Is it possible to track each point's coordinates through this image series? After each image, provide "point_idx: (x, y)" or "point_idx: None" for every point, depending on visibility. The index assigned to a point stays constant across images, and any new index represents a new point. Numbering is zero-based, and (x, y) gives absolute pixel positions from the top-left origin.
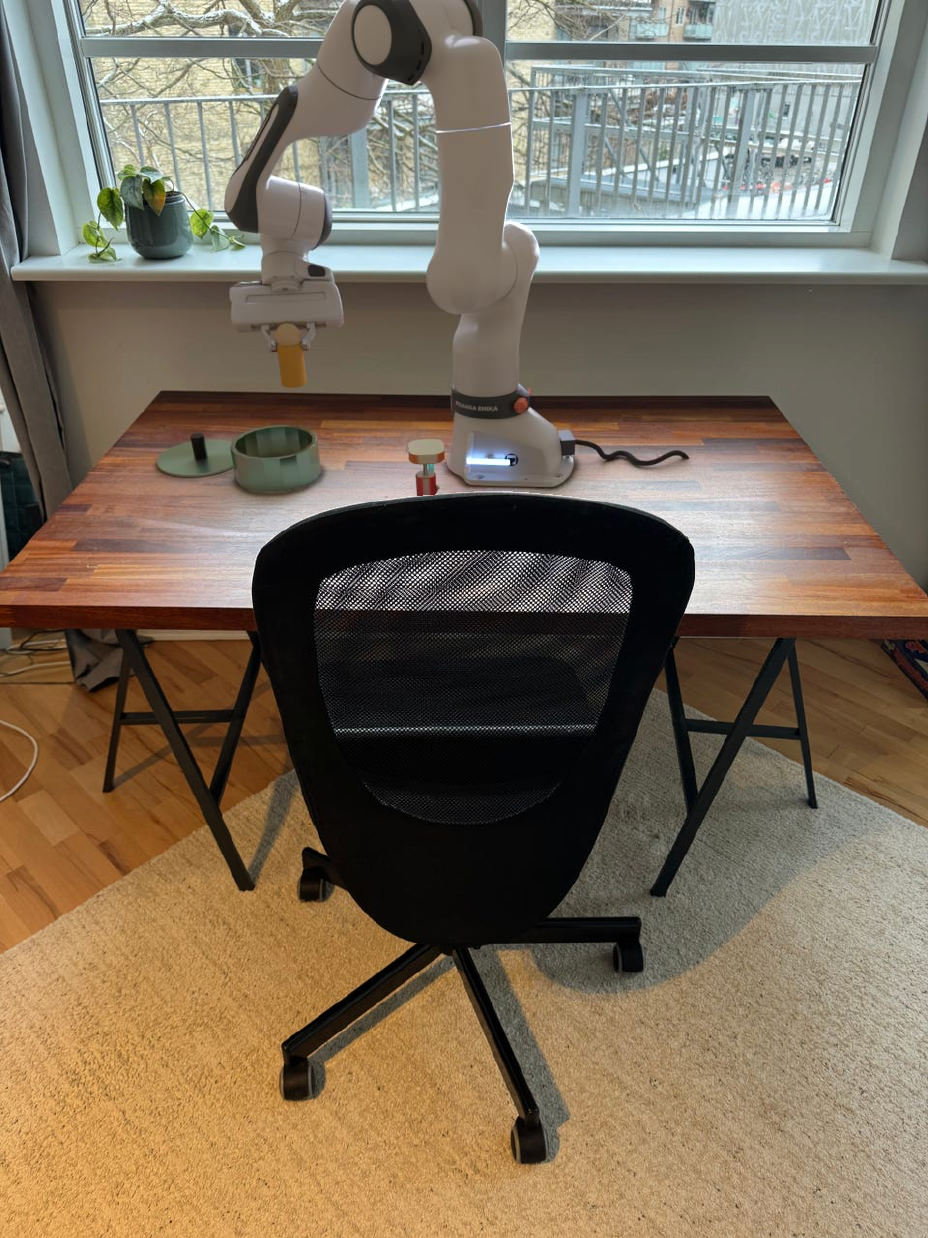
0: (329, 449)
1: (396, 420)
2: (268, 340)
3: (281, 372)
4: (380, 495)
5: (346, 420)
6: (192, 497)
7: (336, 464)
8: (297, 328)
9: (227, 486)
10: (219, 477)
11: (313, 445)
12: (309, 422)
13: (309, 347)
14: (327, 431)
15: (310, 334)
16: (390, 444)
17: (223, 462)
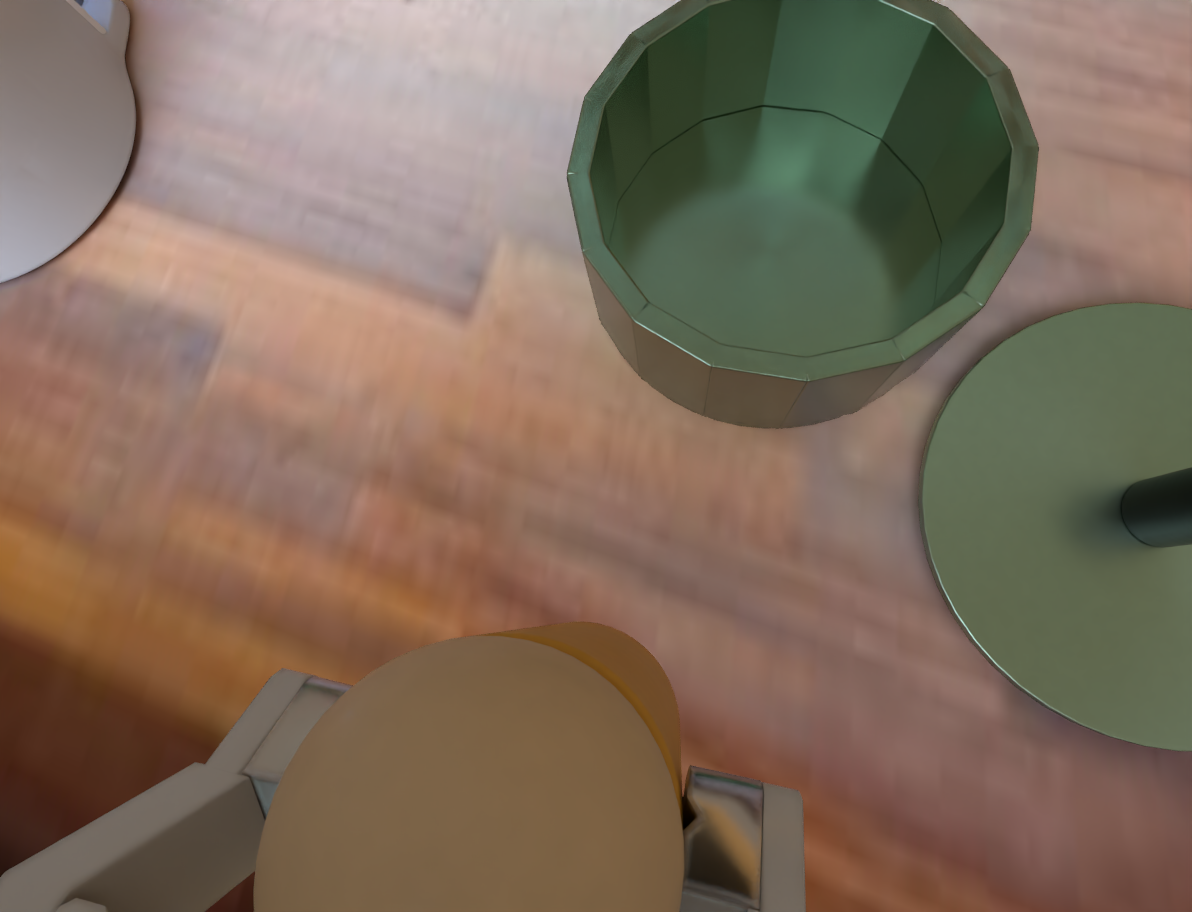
0: (514, 461)
1: (135, 701)
2: (795, 897)
3: (671, 700)
4: (424, 11)
5: None
6: (1148, 160)
7: (517, 299)
8: (266, 837)
9: None
10: (1037, 317)
11: (602, 72)
12: None
13: (294, 671)
14: None
15: (154, 792)
16: (253, 428)
17: (1031, 397)
